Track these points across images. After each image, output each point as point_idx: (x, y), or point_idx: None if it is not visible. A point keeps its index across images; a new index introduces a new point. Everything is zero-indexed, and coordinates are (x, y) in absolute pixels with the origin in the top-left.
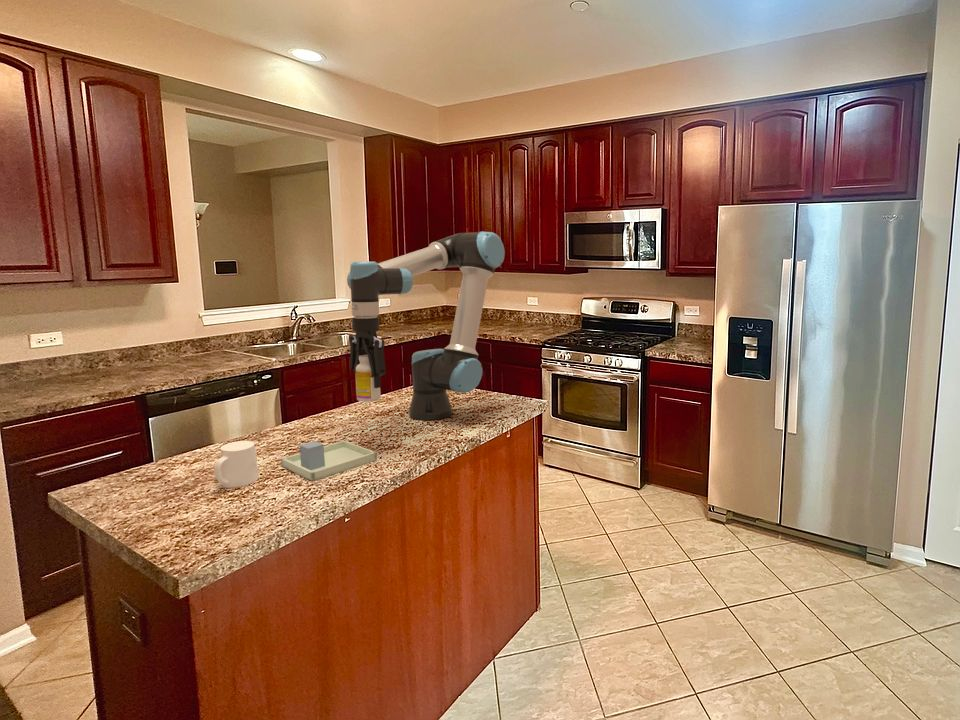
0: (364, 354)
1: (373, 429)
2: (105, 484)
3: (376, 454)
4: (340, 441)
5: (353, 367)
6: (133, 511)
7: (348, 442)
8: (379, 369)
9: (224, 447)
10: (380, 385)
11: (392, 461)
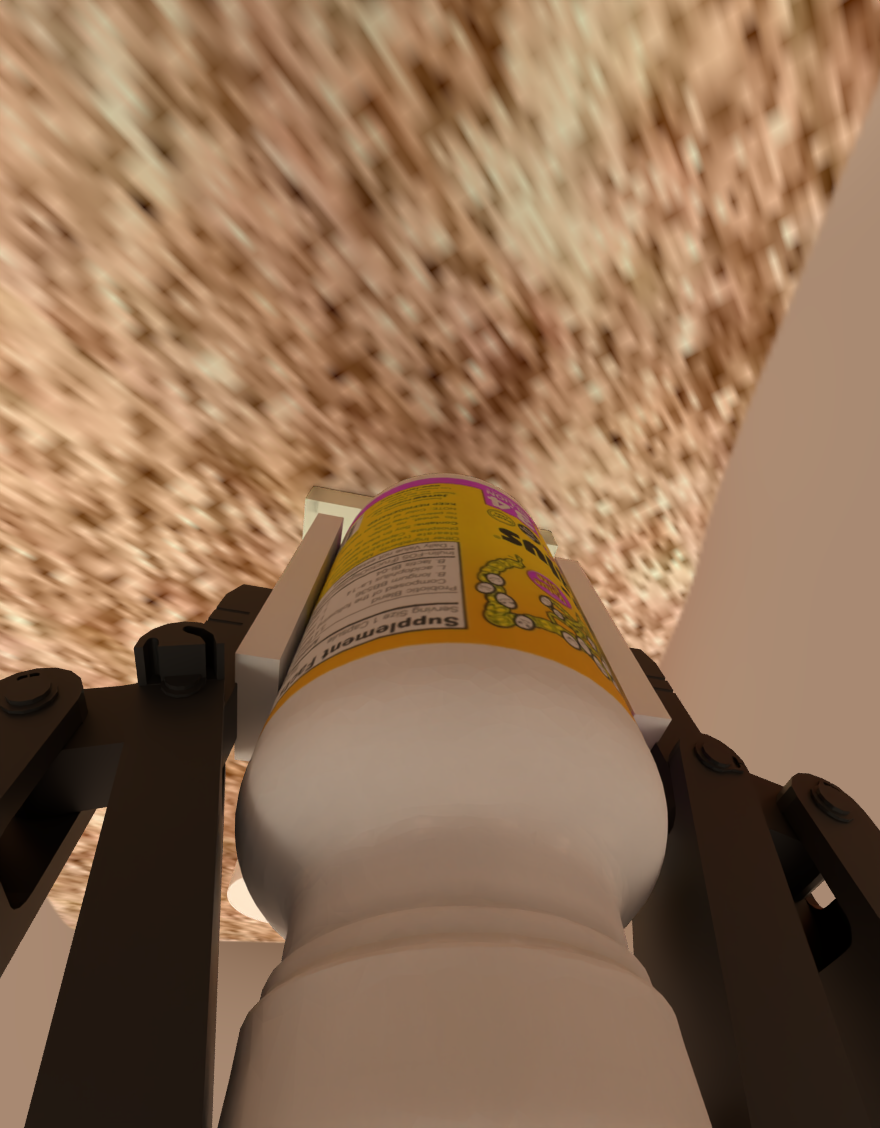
0: None
1: (160, 119)
2: (83, 895)
3: (555, 543)
4: (304, 518)
5: (87, 798)
6: None
7: (348, 511)
8: (835, 941)
9: (260, 915)
10: (655, 670)
11: (619, 513)
